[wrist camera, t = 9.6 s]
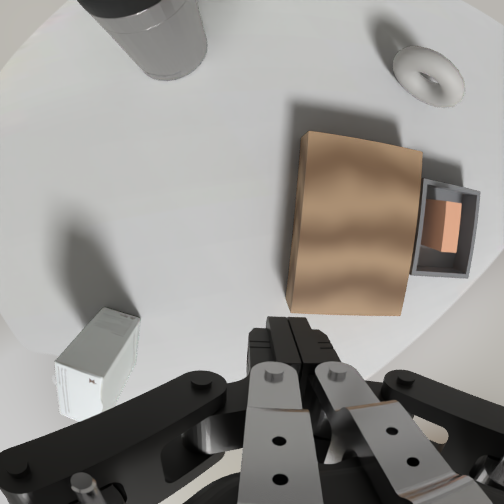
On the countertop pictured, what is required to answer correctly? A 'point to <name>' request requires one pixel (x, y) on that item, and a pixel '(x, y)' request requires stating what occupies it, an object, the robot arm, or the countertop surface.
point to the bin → (459, 262)
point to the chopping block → (353, 226)
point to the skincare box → (97, 364)
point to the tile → (441, 225)
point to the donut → (435, 66)
